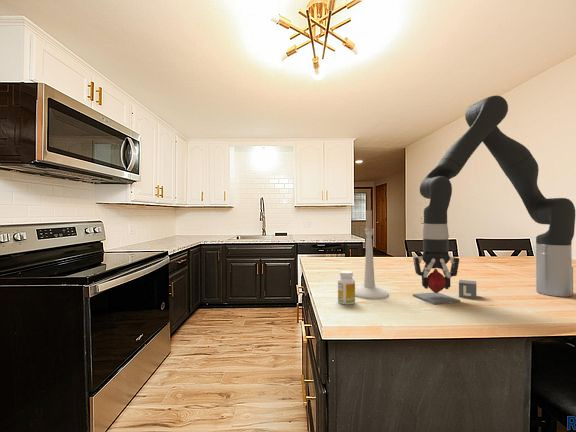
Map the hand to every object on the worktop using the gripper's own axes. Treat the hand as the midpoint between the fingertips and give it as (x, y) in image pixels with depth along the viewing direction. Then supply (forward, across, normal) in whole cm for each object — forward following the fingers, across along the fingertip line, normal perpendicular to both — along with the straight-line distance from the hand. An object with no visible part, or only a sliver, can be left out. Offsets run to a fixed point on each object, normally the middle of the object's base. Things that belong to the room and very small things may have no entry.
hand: (435, 288), depth 98 cm
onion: (+2, 0, 0) cm, 2 cm away
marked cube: (+4, -12, -5) cm, 13 cm away
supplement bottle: (+4, +29, +8) cm, 31 cm away
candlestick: (+4, +21, -3) cm, 22 cm away
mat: (+4, 0, 0) cm, 4 cm away
